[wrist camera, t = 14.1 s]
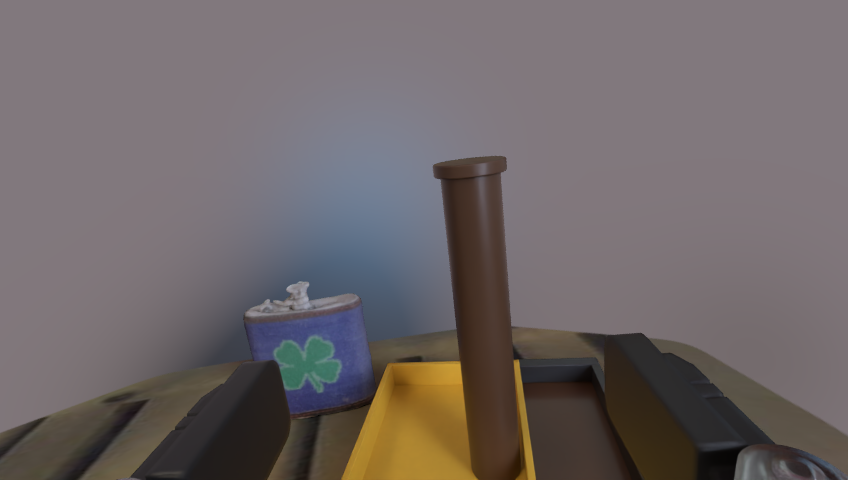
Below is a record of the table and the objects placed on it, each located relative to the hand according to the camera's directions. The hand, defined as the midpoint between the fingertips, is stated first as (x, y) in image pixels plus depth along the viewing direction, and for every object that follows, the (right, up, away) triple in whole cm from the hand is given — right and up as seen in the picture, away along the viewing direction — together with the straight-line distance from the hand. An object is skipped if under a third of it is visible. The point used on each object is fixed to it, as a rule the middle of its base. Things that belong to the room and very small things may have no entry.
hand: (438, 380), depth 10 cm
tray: (+1, -10, +14) cm, 18 cm away
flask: (-9, -10, +24) cm, 28 cm away
